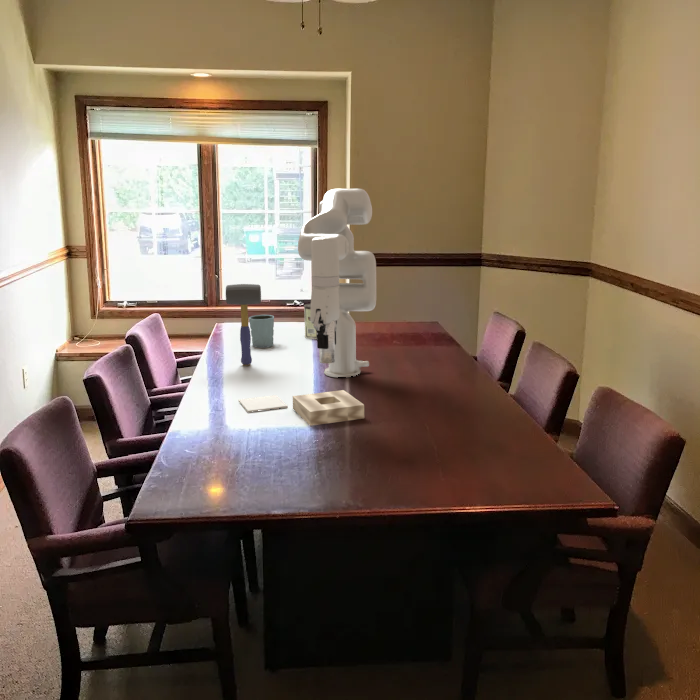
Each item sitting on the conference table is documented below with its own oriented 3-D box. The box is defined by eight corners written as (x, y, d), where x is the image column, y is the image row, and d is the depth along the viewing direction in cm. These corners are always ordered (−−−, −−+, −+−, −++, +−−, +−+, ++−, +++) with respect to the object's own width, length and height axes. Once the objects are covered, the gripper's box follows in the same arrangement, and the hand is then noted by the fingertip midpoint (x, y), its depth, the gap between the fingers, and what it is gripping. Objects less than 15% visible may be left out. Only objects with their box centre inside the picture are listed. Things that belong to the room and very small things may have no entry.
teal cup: (279, 344, 293) (278, 316, 290) (264, 349, 284) (263, 320, 282) (260, 341, 298) (259, 313, 295) (245, 346, 290) (243, 317, 287)
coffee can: (328, 334, 312) (328, 302, 309) (327, 339, 302) (327, 306, 299) (305, 334, 312) (304, 303, 309) (303, 339, 302) (302, 306, 299)
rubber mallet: (264, 362, 263) (261, 282, 256) (263, 367, 256) (259, 285, 249) (230, 363, 262) (226, 282, 256) (228, 368, 255) (224, 285, 248)
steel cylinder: (323, 359, 203) (322, 318, 200) (337, 360, 201) (336, 319, 198) (316, 362, 199) (315, 320, 196) (331, 364, 197) (330, 321, 194)
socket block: (343, 402, 213) (343, 390, 212) (364, 418, 199) (364, 404, 198) (292, 409, 207) (292, 396, 207) (310, 425, 193) (310, 411, 192)
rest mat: (276, 396, 220) (276, 395, 220) (287, 407, 209) (287, 405, 209) (238, 401, 215) (238, 399, 215) (247, 412, 205) (247, 410, 204)
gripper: (326, 277, 203) (327, 339, 208) (299, 285, 188) (301, 352, 193) (350, 278, 201) (350, 341, 205) (325, 287, 186) (326, 354, 190)
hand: (326, 345), depth 199 cm, fingers closed on steel cylinder, 4 cm apart
